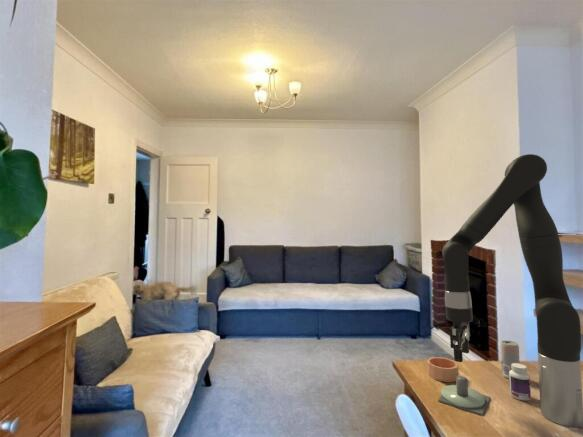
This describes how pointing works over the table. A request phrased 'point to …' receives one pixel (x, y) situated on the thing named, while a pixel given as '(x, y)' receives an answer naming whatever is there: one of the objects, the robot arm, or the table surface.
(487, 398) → the mat
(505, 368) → the energy drink
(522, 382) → the pill bottle
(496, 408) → the table surface
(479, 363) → the table surface
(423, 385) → the table surface
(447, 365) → the bowl
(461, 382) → the lid
